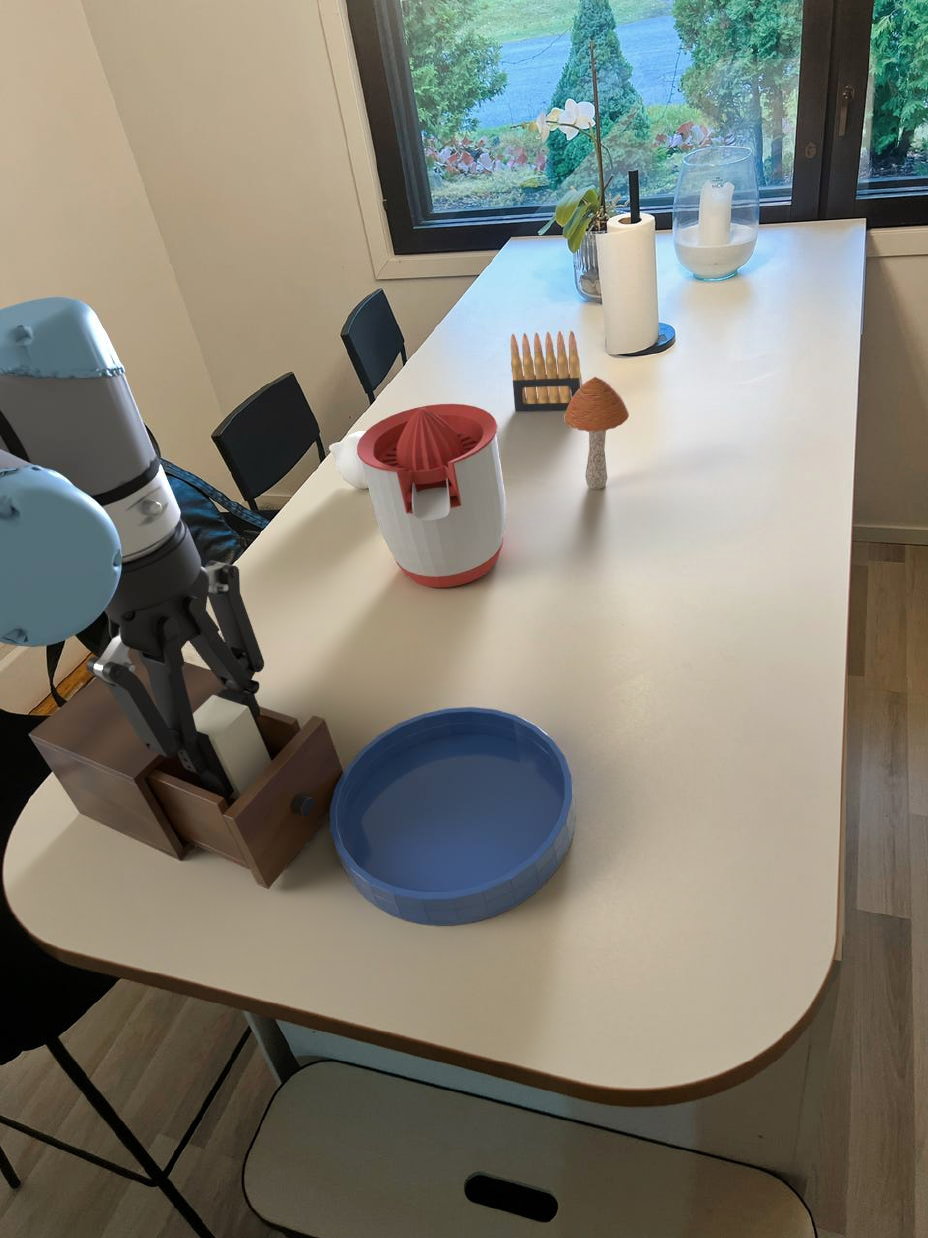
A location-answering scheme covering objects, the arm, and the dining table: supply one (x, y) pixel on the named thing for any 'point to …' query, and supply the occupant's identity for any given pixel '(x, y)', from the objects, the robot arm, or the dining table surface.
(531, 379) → the ammunition clip
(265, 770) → the drawer
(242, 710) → the block
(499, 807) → the bowl
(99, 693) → the cabinet
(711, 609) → the dining table surface
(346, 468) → the cat figurine
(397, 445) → the citrus juicer
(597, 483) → the mushroom
